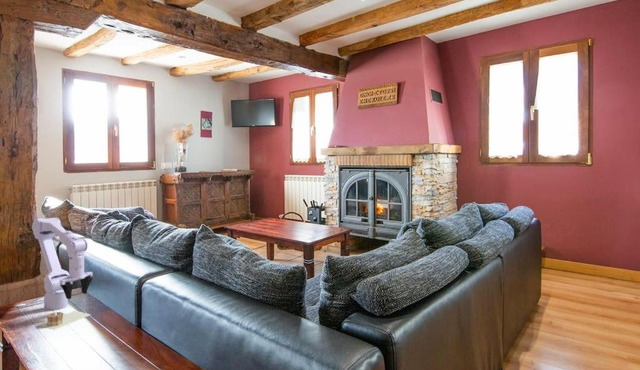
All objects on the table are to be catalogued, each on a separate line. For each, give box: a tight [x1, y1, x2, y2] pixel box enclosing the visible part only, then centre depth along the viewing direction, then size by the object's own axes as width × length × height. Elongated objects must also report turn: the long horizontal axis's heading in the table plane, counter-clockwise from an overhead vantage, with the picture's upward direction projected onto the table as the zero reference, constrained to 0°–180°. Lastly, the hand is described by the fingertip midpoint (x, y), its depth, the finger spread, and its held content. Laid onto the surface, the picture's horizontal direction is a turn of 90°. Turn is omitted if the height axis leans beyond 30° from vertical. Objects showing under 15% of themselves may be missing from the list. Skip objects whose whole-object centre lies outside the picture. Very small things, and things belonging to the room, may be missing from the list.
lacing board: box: [37, 310, 92, 331], centre depth 167 cm, size 10×17×6 cm, turn 161°
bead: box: [46, 311, 64, 326], centre depth 163 cm, size 5×5×4 cm
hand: (76, 295), depth 174 cm, fingers open, 7 cm apart
